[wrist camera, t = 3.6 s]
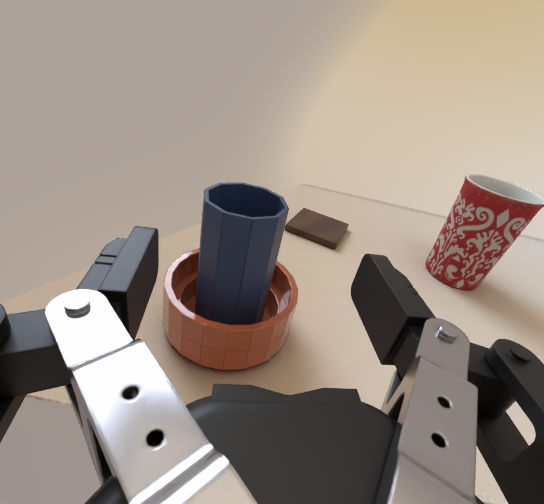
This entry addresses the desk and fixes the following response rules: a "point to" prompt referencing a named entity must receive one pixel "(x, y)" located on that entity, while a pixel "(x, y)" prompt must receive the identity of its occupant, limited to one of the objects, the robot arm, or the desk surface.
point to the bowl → (217, 336)
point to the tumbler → (238, 252)
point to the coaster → (317, 228)
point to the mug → (480, 229)
